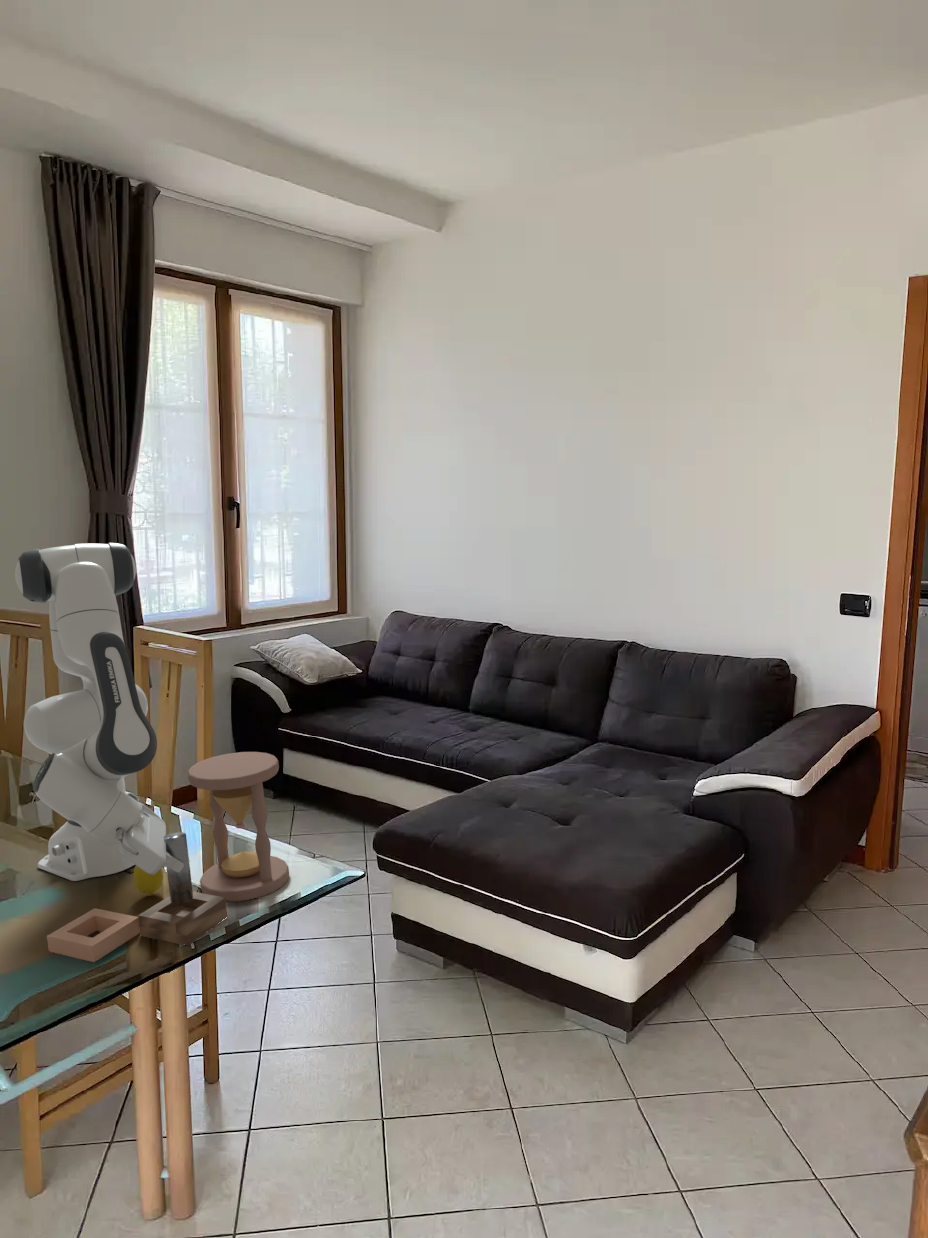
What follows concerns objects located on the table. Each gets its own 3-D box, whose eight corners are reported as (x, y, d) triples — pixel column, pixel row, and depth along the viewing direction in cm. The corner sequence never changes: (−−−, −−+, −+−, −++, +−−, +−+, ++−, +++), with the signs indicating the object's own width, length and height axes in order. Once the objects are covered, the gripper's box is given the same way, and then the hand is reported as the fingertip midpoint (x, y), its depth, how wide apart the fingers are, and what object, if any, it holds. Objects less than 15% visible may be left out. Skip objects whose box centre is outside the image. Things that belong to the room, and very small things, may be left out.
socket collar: (48, 951, 166) (46, 936, 165) (96, 923, 176) (94, 908, 175) (94, 962, 161) (91, 946, 161) (140, 932, 171) (138, 917, 170)
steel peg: (165, 901, 170) (158, 839, 168) (181, 892, 174) (173, 831, 172) (182, 904, 168) (175, 841, 167) (197, 895, 172) (190, 833, 170)
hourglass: (305, 881, 189) (294, 762, 184) (226, 911, 177) (213, 786, 173) (262, 857, 202) (251, 746, 198) (186, 884, 190) (172, 767, 186)
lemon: (164, 898, 184) (160, 860, 183) (135, 904, 183) (130, 865, 181) (165, 887, 189) (160, 850, 188) (136, 892, 188) (132, 854, 187)
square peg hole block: (140, 936, 170) (138, 915, 169) (182, 908, 179) (180, 889, 179) (187, 946, 165) (185, 925, 164) (227, 917, 175) (225, 897, 174)
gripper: (128, 826, 156) (194, 870, 161) (131, 789, 176) (190, 829, 180) (103, 856, 156) (170, 899, 160) (109, 816, 175) (169, 855, 179)
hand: (181, 862), depth 170 cm, fingers closed on steel peg, 4 cm apart
